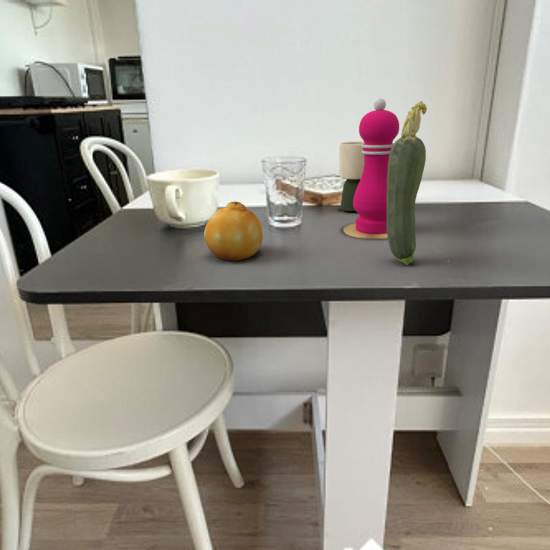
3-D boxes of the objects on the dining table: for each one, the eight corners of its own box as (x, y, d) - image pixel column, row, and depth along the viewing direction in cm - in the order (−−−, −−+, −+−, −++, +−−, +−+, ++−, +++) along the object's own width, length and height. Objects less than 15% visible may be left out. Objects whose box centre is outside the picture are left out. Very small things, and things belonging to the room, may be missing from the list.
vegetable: (380, 266, 57) (388, 102, 50) (384, 256, 61) (392, 102, 54) (416, 269, 56) (429, 100, 48) (418, 258, 59) (431, 100, 52)
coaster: (401, 224, 76) (401, 221, 76) (409, 240, 67) (409, 237, 67) (343, 224, 78) (343, 221, 78) (343, 240, 69) (343, 237, 68)
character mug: (388, 214, 83) (392, 143, 78) (356, 219, 81) (358, 146, 76) (356, 204, 93) (358, 139, 88) (327, 208, 90) (327, 142, 85)
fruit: (275, 232, 66) (245, 188, 63) (269, 254, 59) (234, 205, 56) (232, 258, 69) (201, 216, 66) (221, 281, 61) (186, 236, 59)
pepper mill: (379, 237, 67) (386, 98, 60) (343, 229, 73) (345, 100, 65) (406, 228, 72) (415, 96, 65) (370, 221, 77) (375, 98, 70)
